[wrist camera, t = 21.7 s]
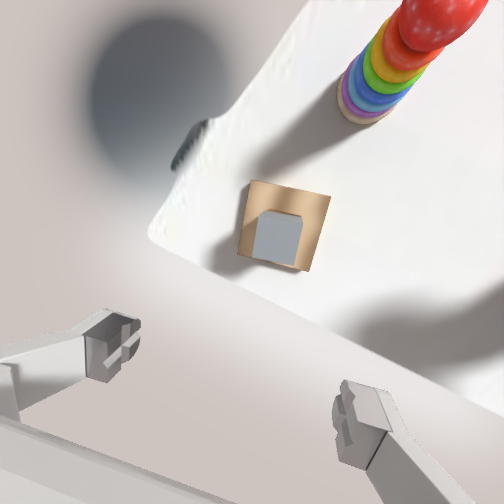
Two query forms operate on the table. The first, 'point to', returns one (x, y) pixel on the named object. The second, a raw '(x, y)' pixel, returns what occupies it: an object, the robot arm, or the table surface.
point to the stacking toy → (401, 55)
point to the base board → (288, 201)
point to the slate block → (277, 237)
